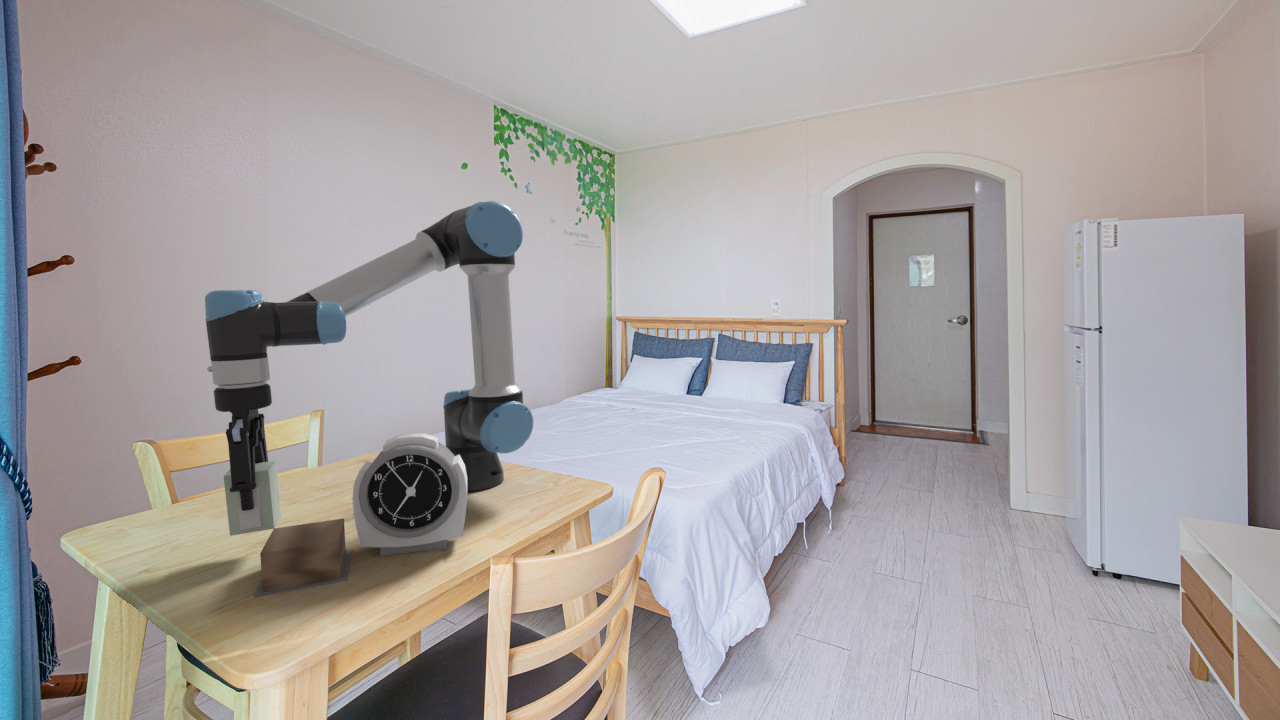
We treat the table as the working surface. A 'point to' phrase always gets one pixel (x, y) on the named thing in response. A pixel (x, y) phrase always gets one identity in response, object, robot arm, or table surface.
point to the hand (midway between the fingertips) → (256, 519)
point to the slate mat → (343, 578)
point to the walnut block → (303, 555)
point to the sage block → (267, 499)
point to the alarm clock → (410, 496)
